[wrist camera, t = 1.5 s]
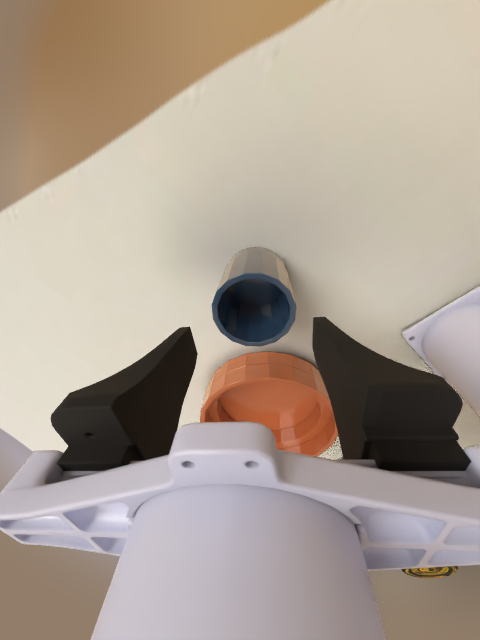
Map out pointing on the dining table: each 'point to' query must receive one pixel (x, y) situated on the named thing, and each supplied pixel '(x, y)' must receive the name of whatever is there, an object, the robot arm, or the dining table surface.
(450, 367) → the robot arm
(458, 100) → the dining table surface
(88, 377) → the dining table surface
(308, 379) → the clay bowl
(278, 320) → the cup
